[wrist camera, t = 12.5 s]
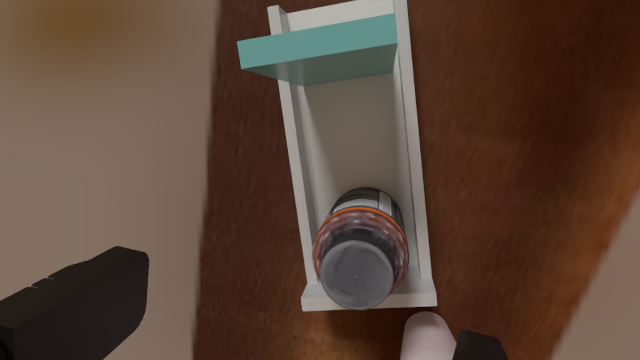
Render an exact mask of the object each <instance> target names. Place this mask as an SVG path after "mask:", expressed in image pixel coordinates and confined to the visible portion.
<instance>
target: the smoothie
mask: <svg viewBox="0 0 640 360" xmlns="http://www.w3.org/2000/svg"><path fill="white" fill-rule="evenodd" d="M456 344H457V343H456V341H455V339H454V337H453V336H452V334H451V332H450V330H449V328H448V326H447V324H446V322H445V321H444V320H443V319H442V318H441V317H440V316H439V315H437V314H435V313H433V312H428V311H422V312H418V313H415V314H413V315H412V316H411V317H409V319H408V320H407V322H406V324H405V328H404V335H403V342H402V349H401V356H400V360H452V358H453V355H454V351H455V348H456Z"/></svg>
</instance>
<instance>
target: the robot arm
mask: <svg viewBox="0 0 640 360" xmlns="http://www.w3.org/2000/svg"><path fill="white" fill-rule="evenodd" d="M148 271H149V258H148V255H147V254H146V253H145V252H141V251H137V250H133V249H129V248H124V247H120V246H115V247H113V248H111V249H109V250H107V251H105V252H103V253H102V254H100V255H98V256H96V257H94V258H92V259H90V260H88V261H84V262H81V263H77V264H73V265H70V266H67V267H65V268H63V269H61V270H59V271H57V272H55V273H53V274H51V275H50V276H48V278H47V279H46V278H44V279H42V280H40V281H38V282H36V283H34V284H32V286H31V287H26V288H24V289H22V290H21V291H19V292H17V293H15V294H13V295H11V296H9V297H7V298H5V299H3V300H1V301H0V360H103V359H104V358H105V357H106V356H107V355H109V354H110V353H111V352H112V351H113V350H114V349H115V348H116V347H117V346H118V345H120V344H121V343H122V342H123V341H124V340H125V339H126V338H127V337H128V336H130V335H131V334H132V333H133V332H134V331H135V330H136V329H137V327H138V326H139V324H140V323H141V321H142V319H143V316H144V313H145V310H146V301H147V287H148ZM452 360H508V358H507V356H506V354H505V352H504V350H503V347H502V345H501V343H500V341H499V340H498V338H496V337H492V336H487V335H483V334H479V333H475V332H471V331H467V330H462V331H461V333H460V335H459V337H458V340H457V344H456V348H455V351H454V355H453V358H452Z"/></svg>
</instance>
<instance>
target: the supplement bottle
mask: <svg viewBox="0 0 640 360" xmlns="http://www.w3.org/2000/svg"><path fill="white" fill-rule="evenodd" d="M312 260H313V266H314V269H315V272H316V274H317V276H318V278H319V280H320V281H321V284H322V287H323V289H324V290H325V292H326V294H327V295H328V296H329V297H330V299H332V300H333V301H334V302H335V303H337V304H338V305H340V306H342V307H344V308H347V309H351V310H367V309H371V308H373V307H376V306H377V305H379V304H380V303H382V302H383V301H384V300H385V299H386V298H387V296H389V295H390V294H392V293H393V292H394V291H395V290H396V289H397V288H398V287H399V286H400V285H401V284H402V281H403V280H404V278H405V276H406V273H407V271H408V265H409V250H408V242H407V237H406V233H405V227H404V221H403V216H402V213H401V210H400V208H399V206H398V205H397V203H396V201H395V200H394V199H393V198H392V197H391V196H390V195H388V194H387V193H385V192H384V191H381V190H380V189H377V188H373V187H358V188H355V189H352V190H349V191H348V192H346V193H344V194H343V195H342V196H341V197H340V198H339V199H338V200H337V201H336V202H335V203H334V205H333V207H332V208H331V210H330V212H329V213H328V215H327V217H326V218H325V220H324V222H323V224H322V225H321V227H320V229H319V231H318V233H317V235H316V237H315V240H314V244H313V249H312Z"/></svg>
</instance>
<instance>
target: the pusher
mask: <svg viewBox="0 0 640 360" xmlns="http://www.w3.org/2000/svg"><path fill="white" fill-rule="evenodd" d="M237 44H238V51H239V57H240V63H241V69H244V70H247V71H250V72H254V73H257V74H261V75H264V76H268V77H271V78H275V79H278V80H282V81H285V82H289V83H292V84H296V85H299V86H309V85H315V84H322V83H328V82H335V81H341V80H348V79H354V78H361V77H368V76H374V75H381V74H387V73H393V69H394V63H395V57H396V51H397V45H398V40H397V29H396V19H395V13H392V14H386V15H381V16H375V17H370V18H364V19H359V20H353V21H348V22H342V23H337V24H331V25H326V26H320V27H315V28H309V29H304V30H298V31H292V32H287V33H281V34H276V35H270V36H265V37H259V38H254V39H248V40H243V41H237Z"/></svg>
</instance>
